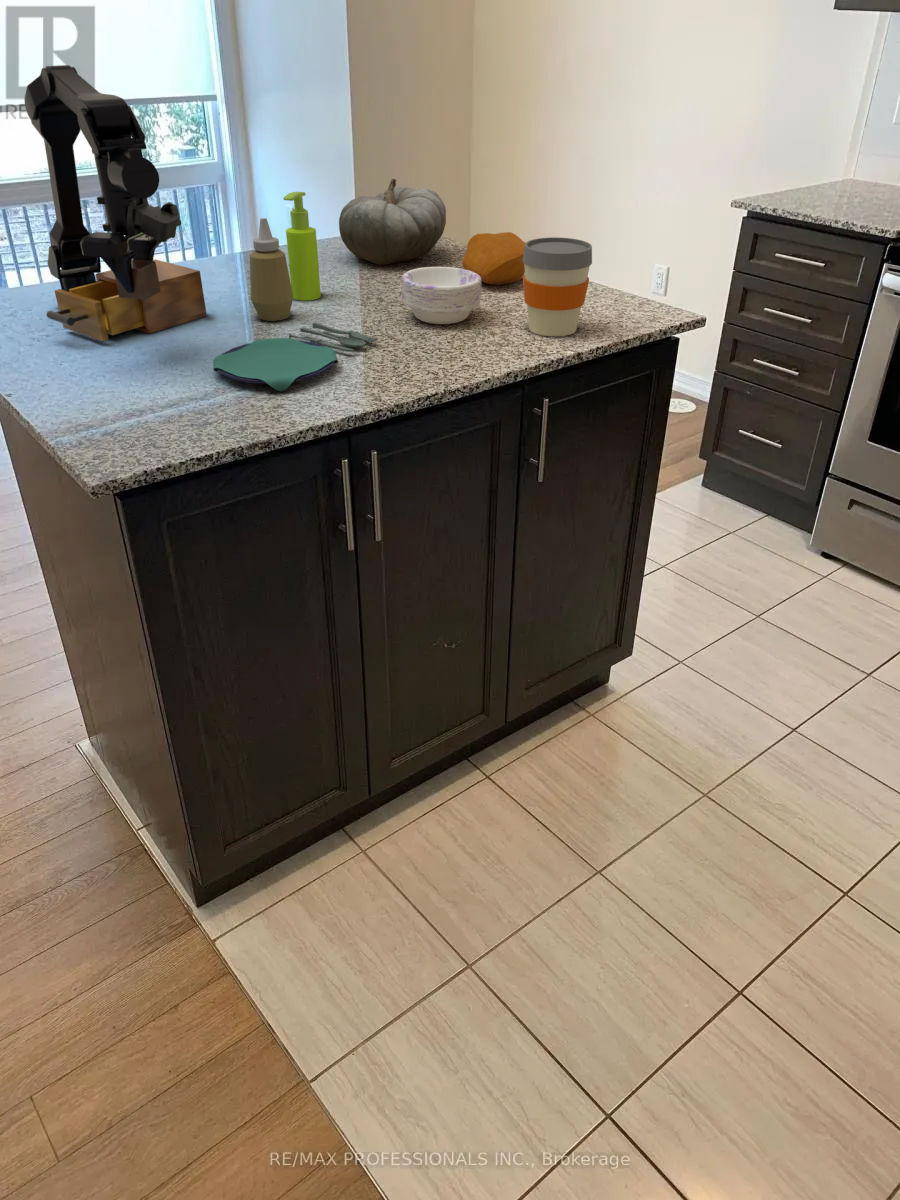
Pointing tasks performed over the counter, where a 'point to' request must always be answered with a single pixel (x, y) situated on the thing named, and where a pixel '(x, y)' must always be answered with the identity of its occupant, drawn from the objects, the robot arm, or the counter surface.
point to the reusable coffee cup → (555, 283)
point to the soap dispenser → (302, 252)
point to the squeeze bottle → (269, 277)
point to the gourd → (393, 224)
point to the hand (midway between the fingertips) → (138, 288)
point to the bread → (495, 257)
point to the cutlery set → (285, 357)
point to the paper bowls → (441, 293)
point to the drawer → (97, 310)
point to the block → (141, 280)
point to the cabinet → (170, 297)
